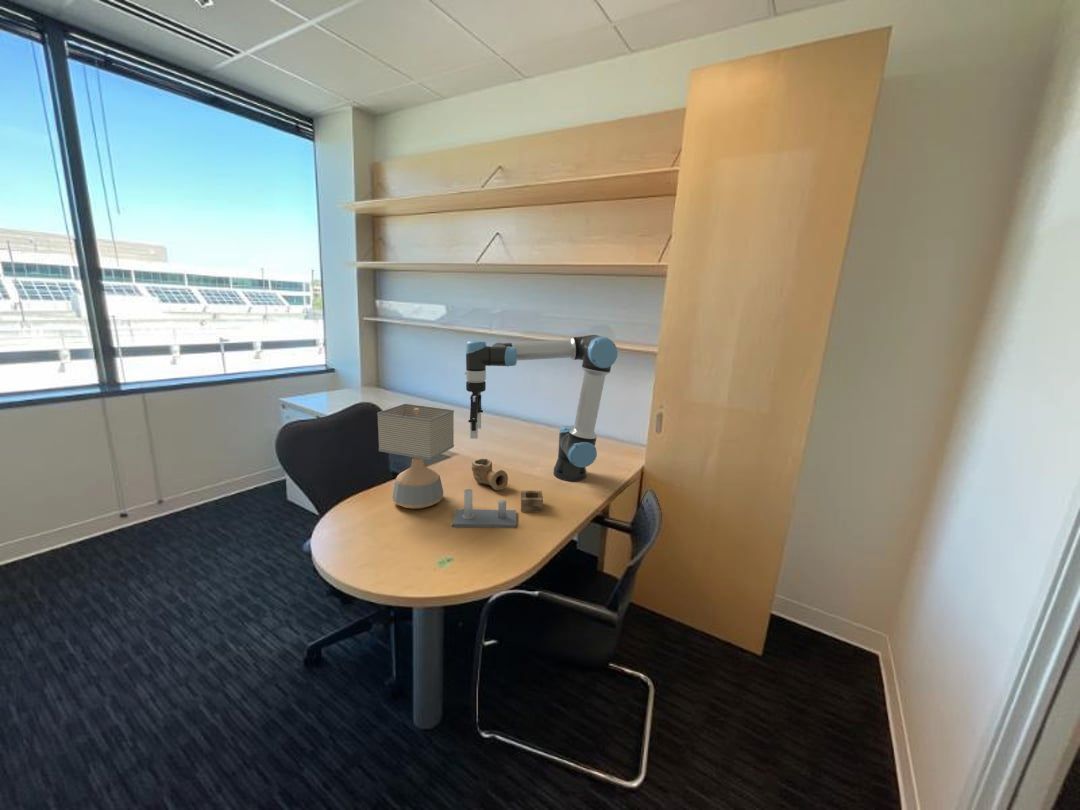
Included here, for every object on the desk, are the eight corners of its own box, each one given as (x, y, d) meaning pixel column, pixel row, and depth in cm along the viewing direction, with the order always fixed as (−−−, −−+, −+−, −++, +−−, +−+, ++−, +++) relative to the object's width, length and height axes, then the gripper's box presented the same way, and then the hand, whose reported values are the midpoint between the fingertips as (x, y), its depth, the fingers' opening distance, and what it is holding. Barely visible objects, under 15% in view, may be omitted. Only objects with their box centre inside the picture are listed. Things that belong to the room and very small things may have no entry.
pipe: (494, 494, 175) (494, 471, 172) (466, 483, 184) (466, 461, 182) (509, 487, 182) (509, 465, 179) (482, 477, 191) (482, 456, 189)
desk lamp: (455, 496, 171) (455, 406, 163) (428, 517, 154) (427, 418, 145) (409, 487, 178) (407, 400, 170) (378, 506, 160) (374, 410, 152)
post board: (515, 512, 160) (516, 484, 158) (515, 527, 150) (516, 498, 147) (456, 511, 159) (456, 484, 156) (451, 526, 148) (451, 497, 146)
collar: (541, 502, 169) (541, 490, 168) (542, 512, 161) (543, 499, 160) (520, 502, 169) (521, 490, 168) (521, 511, 161) (521, 499, 160)
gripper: (470, 375, 180) (470, 424, 184) (461, 386, 155) (462, 442, 160) (488, 375, 180) (487, 424, 185) (482, 387, 156) (482, 443, 160)
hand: (475, 433), depth 172 cm, fingers open, 13 cm apart
